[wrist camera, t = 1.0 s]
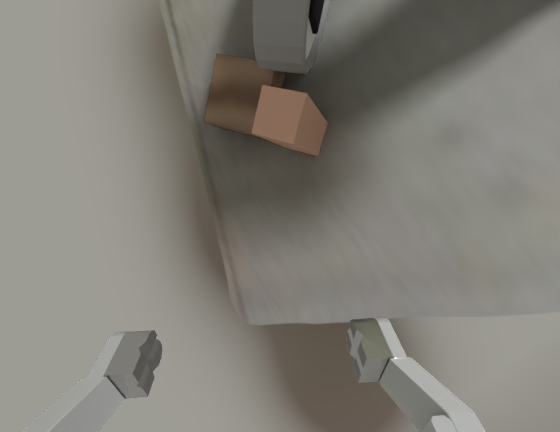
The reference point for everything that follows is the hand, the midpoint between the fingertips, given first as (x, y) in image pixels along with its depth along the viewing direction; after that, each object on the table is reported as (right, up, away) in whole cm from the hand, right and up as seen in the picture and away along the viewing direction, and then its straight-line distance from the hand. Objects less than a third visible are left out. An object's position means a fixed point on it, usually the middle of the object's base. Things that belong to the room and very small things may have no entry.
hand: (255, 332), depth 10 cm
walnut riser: (-4, +24, +30) cm, 38 cm away
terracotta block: (+5, +17, +27) cm, 33 cm away
